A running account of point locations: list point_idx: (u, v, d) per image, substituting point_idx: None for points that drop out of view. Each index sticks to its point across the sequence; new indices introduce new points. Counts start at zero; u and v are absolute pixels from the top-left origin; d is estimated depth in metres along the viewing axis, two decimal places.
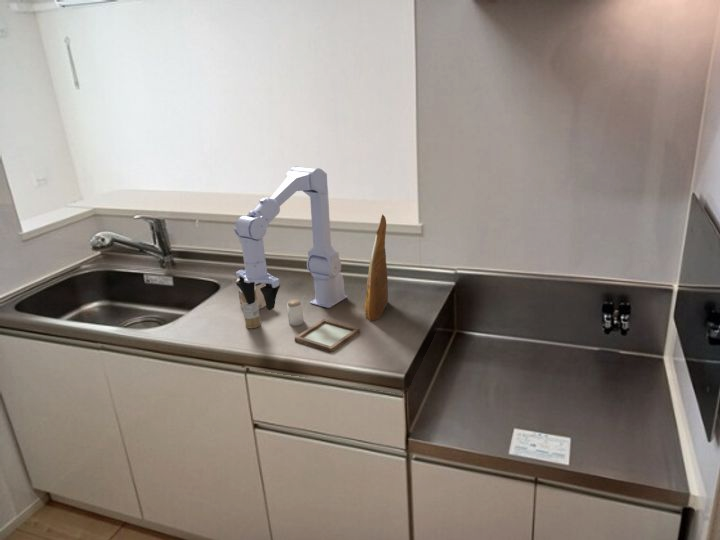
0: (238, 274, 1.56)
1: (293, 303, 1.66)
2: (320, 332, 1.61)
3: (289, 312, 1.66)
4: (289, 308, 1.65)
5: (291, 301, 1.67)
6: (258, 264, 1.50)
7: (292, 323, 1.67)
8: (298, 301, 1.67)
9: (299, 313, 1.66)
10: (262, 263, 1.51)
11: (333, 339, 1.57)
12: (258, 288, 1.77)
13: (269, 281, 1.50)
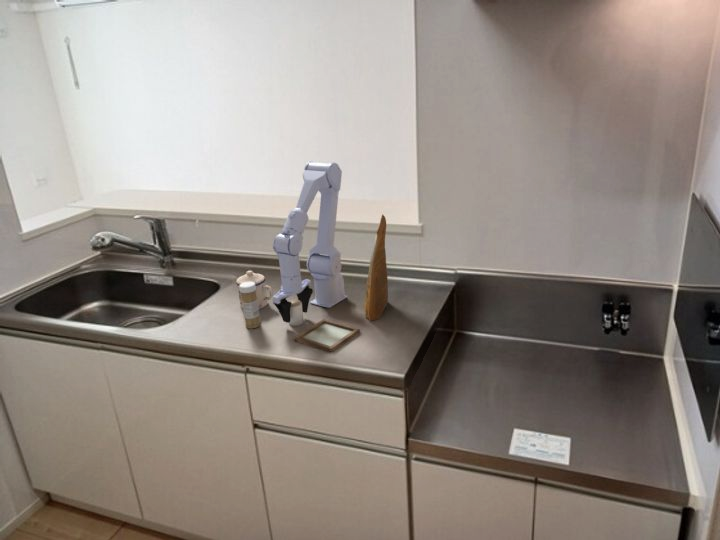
0: None
1: (293, 303, 1.66)
2: (320, 332, 1.61)
3: None
4: None
5: (291, 301, 1.67)
6: (281, 277, 1.62)
7: (292, 323, 1.67)
8: (298, 301, 1.67)
9: (299, 313, 1.66)
10: (284, 279, 1.61)
11: (333, 339, 1.57)
12: (258, 288, 1.77)
13: None
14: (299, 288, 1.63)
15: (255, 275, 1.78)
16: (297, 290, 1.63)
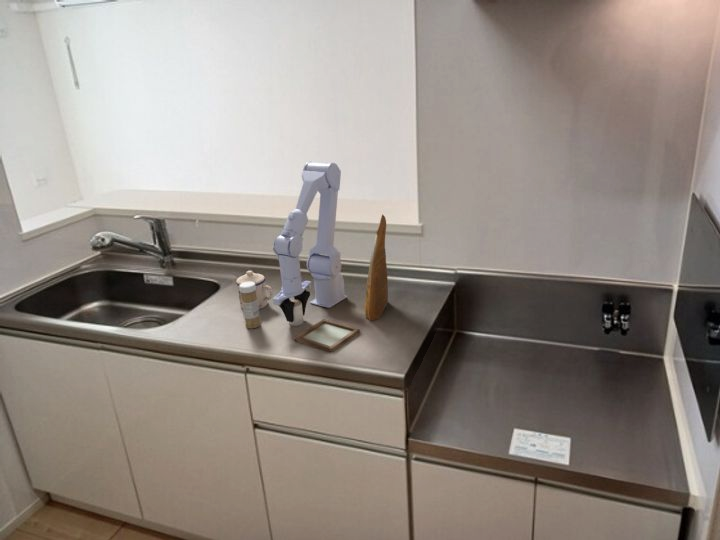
0: None
1: None
2: (320, 332, 1.61)
3: None
4: None
5: None
6: (281, 279, 1.62)
7: (292, 323, 1.67)
8: (298, 301, 1.67)
9: (299, 313, 1.66)
10: (284, 281, 1.62)
11: (333, 339, 1.57)
12: (258, 288, 1.77)
13: None
14: (299, 289, 1.63)
15: (255, 275, 1.78)
16: (297, 291, 1.63)
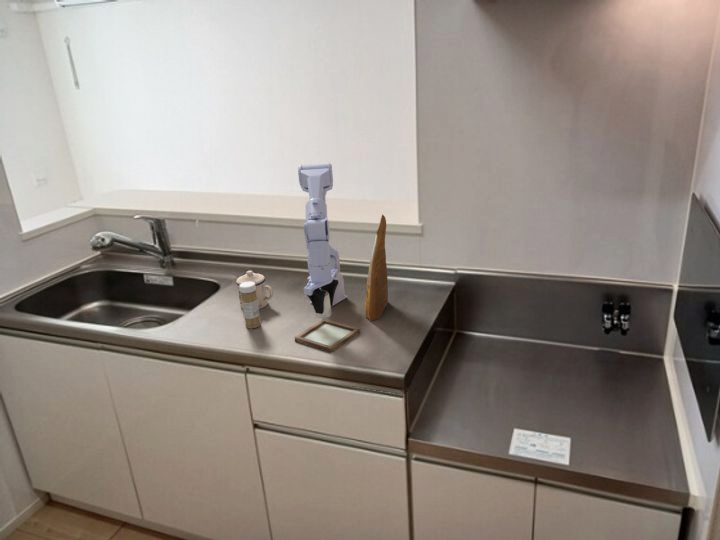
0: None
1: None
2: (320, 332, 1.61)
3: None
4: None
5: None
6: (311, 267, 1.50)
7: (320, 315, 1.55)
8: None
9: (327, 304, 1.55)
10: (314, 269, 1.49)
11: (333, 339, 1.57)
12: (258, 288, 1.77)
13: (306, 286, 1.49)
14: (330, 278, 1.52)
15: (255, 275, 1.78)
16: (328, 280, 1.51)
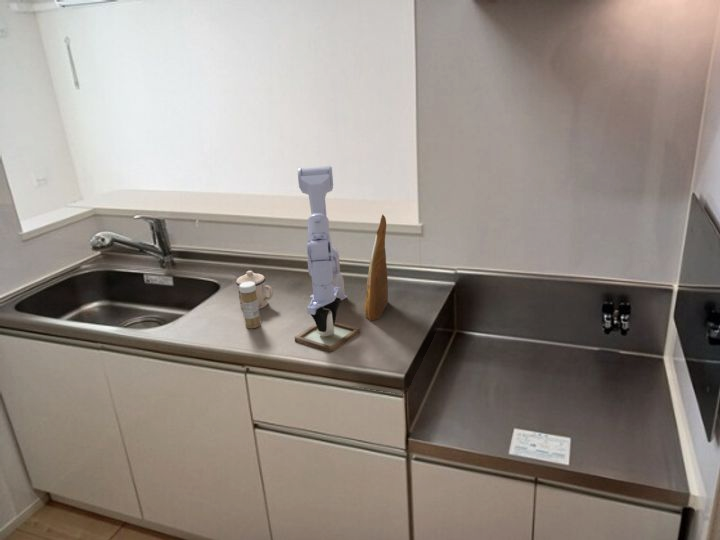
0: None
1: None
2: None
3: None
4: None
5: None
6: (314, 286, 1.52)
7: (323, 333, 1.57)
8: (328, 309, 1.57)
9: (330, 322, 1.56)
10: (317, 288, 1.51)
11: (333, 339, 1.57)
12: (258, 288, 1.77)
13: (309, 305, 1.51)
14: (332, 296, 1.53)
15: (255, 275, 1.78)
16: (331, 299, 1.53)
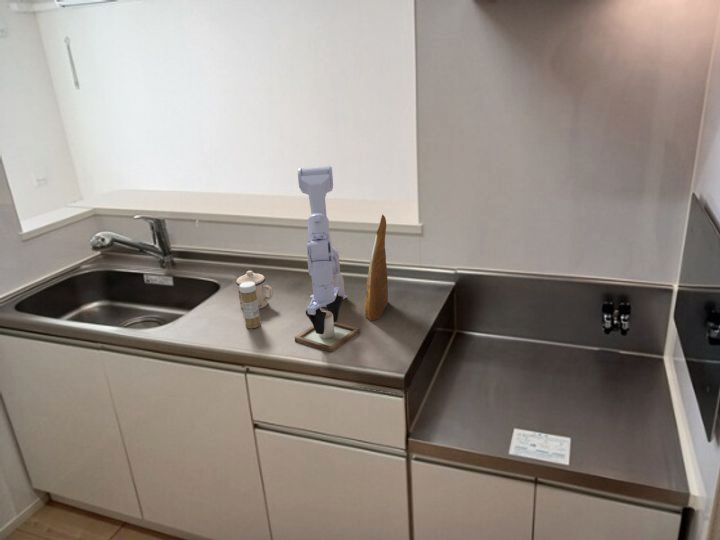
0: None
1: None
2: None
3: None
4: None
5: None
6: (314, 286, 1.52)
7: (324, 336, 1.57)
8: (329, 312, 1.57)
9: (331, 325, 1.57)
10: (317, 288, 1.51)
11: (333, 339, 1.57)
12: (258, 288, 1.77)
13: (309, 306, 1.51)
14: (332, 296, 1.53)
15: (255, 275, 1.78)
16: (331, 299, 1.53)
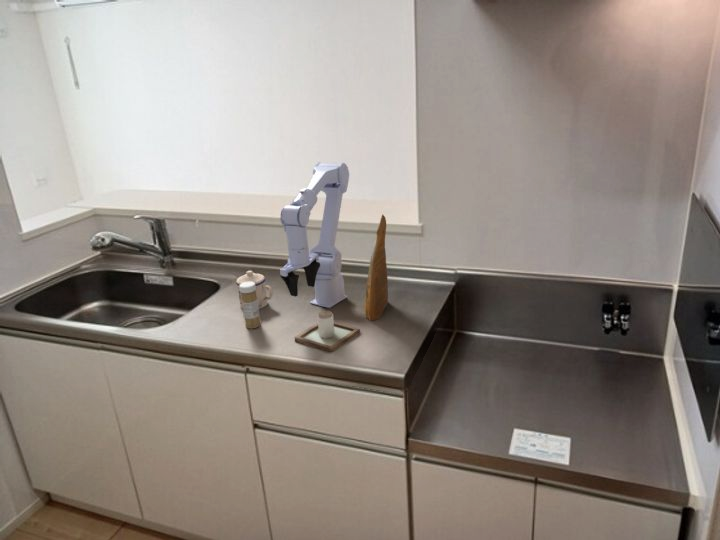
0: None
1: (324, 314, 1.56)
2: None
3: (320, 324, 1.56)
4: (321, 320, 1.55)
5: (322, 312, 1.58)
6: (288, 250, 1.60)
7: (324, 336, 1.57)
8: (329, 312, 1.57)
9: (331, 325, 1.57)
10: (291, 252, 1.59)
11: (333, 339, 1.57)
12: (258, 288, 1.77)
13: None
14: (306, 261, 1.61)
15: (255, 275, 1.78)
16: (304, 263, 1.60)
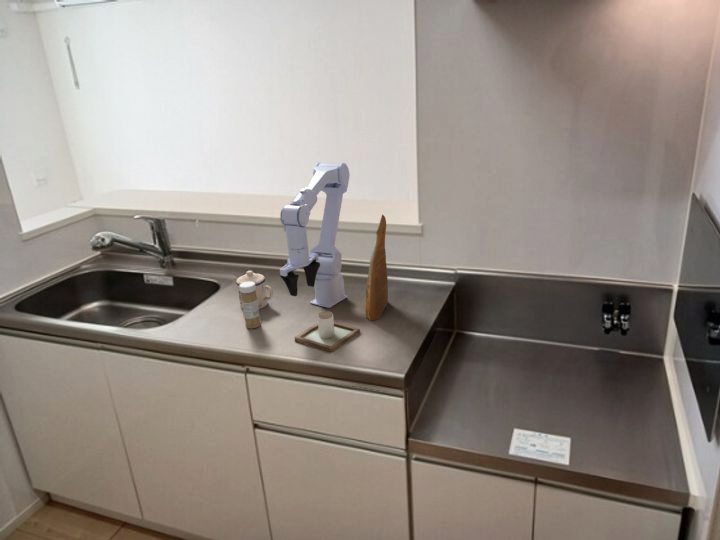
0: None
1: (324, 315, 1.56)
2: None
3: (320, 325, 1.56)
4: (321, 320, 1.55)
5: (322, 312, 1.57)
6: (288, 250, 1.60)
7: (324, 336, 1.57)
8: (329, 312, 1.57)
9: (331, 326, 1.57)
10: (291, 251, 1.59)
11: (333, 339, 1.57)
12: (258, 288, 1.77)
13: None
14: (306, 261, 1.61)
15: (255, 275, 1.78)
16: (304, 263, 1.60)
